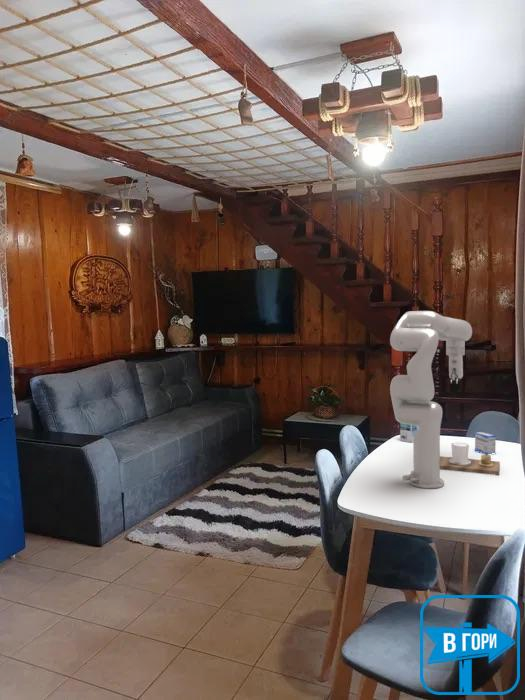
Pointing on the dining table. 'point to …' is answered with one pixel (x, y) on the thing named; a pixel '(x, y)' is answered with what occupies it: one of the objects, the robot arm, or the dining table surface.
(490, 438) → the medicine box
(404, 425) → the light bulb box
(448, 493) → the dining table surface
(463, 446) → the white short cylinder
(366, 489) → the dining table surface
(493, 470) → the fitting board
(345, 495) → the dining table surface
